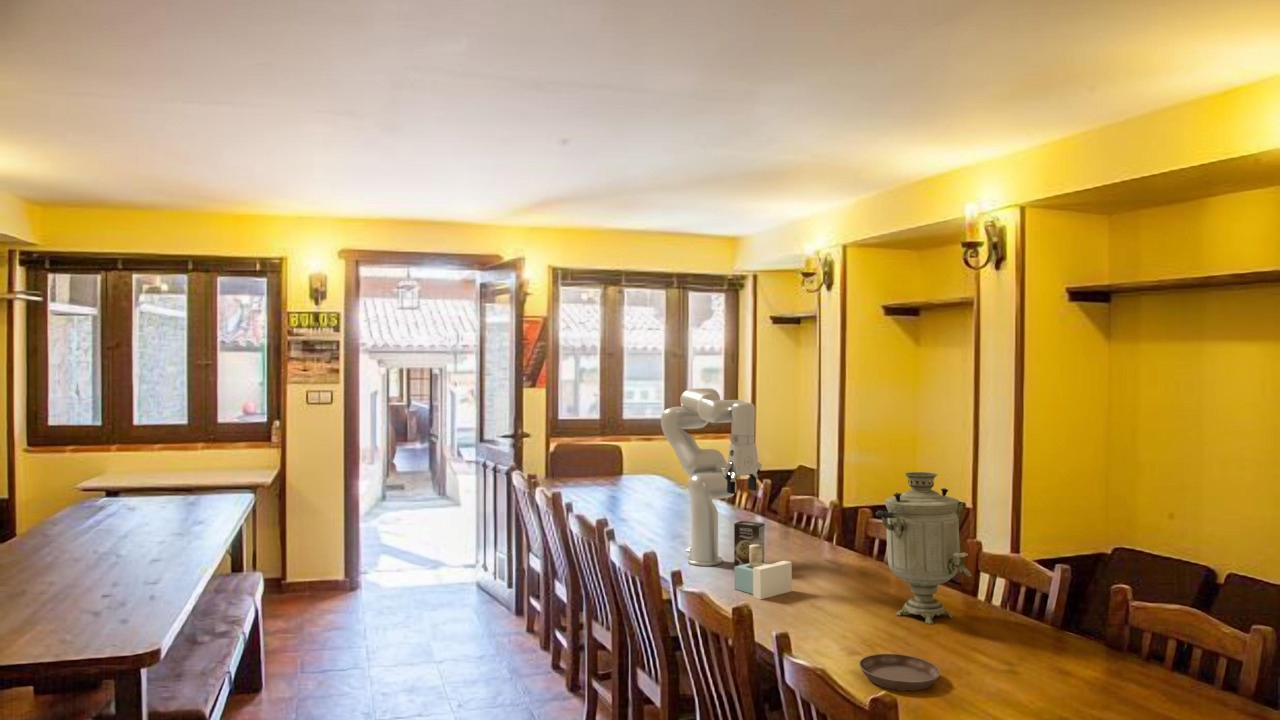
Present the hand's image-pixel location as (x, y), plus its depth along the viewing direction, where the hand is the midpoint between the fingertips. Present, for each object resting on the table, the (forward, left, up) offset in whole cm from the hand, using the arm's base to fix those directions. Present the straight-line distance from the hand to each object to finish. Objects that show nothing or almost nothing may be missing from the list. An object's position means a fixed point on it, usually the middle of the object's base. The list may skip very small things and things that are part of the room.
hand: (741, 491), depth 286 cm
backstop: (+20, -7, -29) cm, 36 cm away
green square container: (+13, -7, -29) cm, 32 cm away
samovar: (+64, +8, -29) cm, 71 cm away
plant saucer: (+85, -36, -29) cm, 97 cm away
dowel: (+13, -7, -25) cm, 29 cm away
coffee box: (-6, +9, -29) cm, 31 cm away
